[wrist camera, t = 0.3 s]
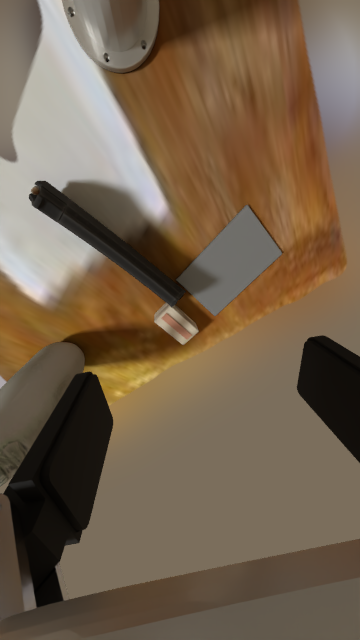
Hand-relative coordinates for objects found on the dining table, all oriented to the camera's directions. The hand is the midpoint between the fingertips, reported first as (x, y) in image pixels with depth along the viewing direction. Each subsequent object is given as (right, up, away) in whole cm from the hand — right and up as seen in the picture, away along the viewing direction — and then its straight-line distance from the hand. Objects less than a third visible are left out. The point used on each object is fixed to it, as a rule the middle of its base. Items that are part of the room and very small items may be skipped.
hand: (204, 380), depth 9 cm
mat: (+10, +15, +34) cm, 38 cm away
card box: (-2, +3, +38) cm, 38 cm away
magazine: (-13, +17, +31) cm, 37 cm away
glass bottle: (-28, -5, +39) cm, 49 cm away
